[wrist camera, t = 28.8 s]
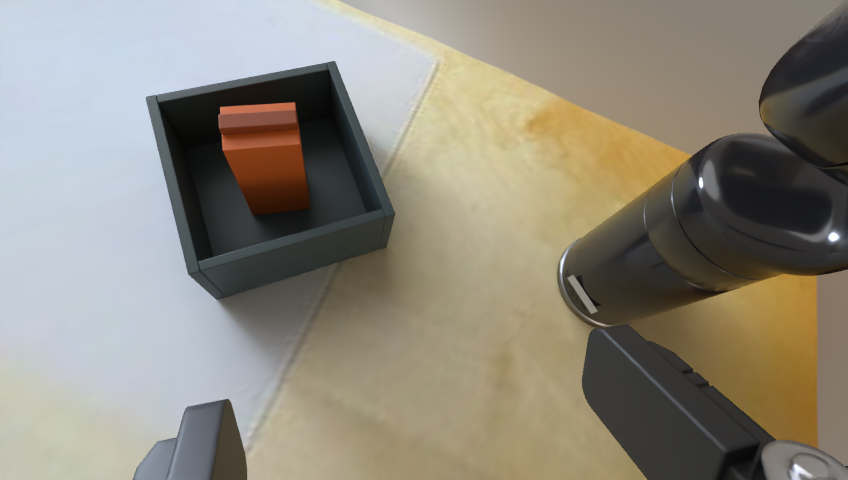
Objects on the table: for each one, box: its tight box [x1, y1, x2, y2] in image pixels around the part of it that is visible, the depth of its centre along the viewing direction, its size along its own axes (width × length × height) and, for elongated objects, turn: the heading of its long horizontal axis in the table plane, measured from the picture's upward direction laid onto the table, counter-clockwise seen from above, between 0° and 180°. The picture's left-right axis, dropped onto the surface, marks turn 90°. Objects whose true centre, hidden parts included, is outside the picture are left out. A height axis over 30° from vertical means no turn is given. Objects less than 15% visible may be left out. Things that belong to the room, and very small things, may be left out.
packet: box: [218, 103, 311, 215], centre depth 37 cm, size 5×4×12 cm
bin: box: [146, 61, 395, 300], centre depth 40 cm, size 16×16×8 cm
